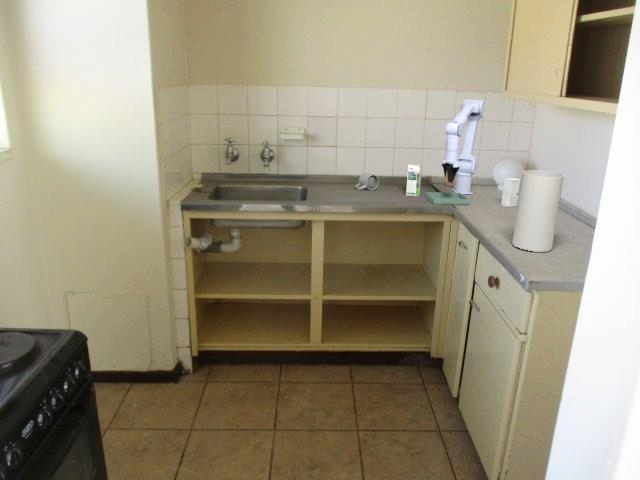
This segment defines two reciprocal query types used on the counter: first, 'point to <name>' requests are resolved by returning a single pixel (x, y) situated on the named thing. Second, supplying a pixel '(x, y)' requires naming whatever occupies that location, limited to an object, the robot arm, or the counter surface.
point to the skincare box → (510, 192)
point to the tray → (447, 198)
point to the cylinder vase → (537, 210)
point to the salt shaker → (449, 182)
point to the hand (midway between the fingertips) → (448, 180)
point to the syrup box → (413, 180)
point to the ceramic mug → (367, 182)
